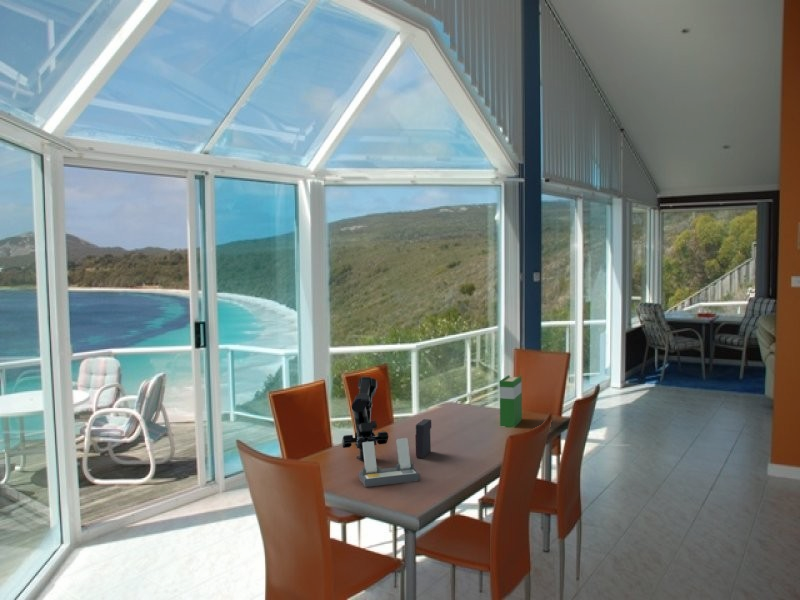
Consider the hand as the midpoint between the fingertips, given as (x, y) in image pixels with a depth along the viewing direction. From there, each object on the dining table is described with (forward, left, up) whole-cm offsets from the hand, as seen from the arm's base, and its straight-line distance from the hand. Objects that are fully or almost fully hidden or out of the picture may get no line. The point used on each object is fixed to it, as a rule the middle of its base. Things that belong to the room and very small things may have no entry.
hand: (368, 458), depth 254 cm
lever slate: (+7, +13, -4) cm, 15 cm away
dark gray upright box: (-14, +35, -8) cm, 39 cm away
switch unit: (+5, +6, -8) cm, 11 cm away
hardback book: (-35, +104, -8) cm, 110 cm away
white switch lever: (+3, -1, -4) cm, 5 cm away
